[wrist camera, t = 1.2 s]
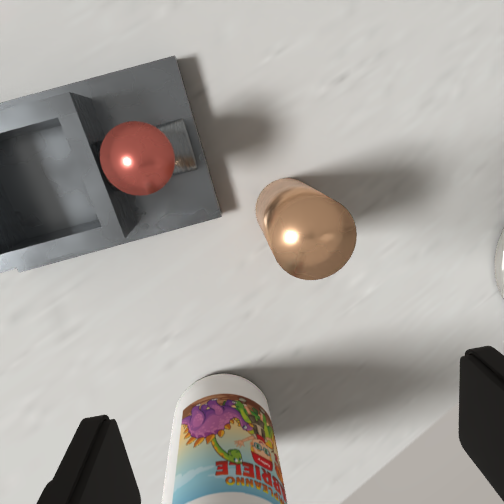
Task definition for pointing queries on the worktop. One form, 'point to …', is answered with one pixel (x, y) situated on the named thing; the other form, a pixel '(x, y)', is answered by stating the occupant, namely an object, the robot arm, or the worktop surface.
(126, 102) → the block
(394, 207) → the worktop surface
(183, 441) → the milk bottle
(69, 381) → the worktop surface
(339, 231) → the pipe stub
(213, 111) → the worktop surface
